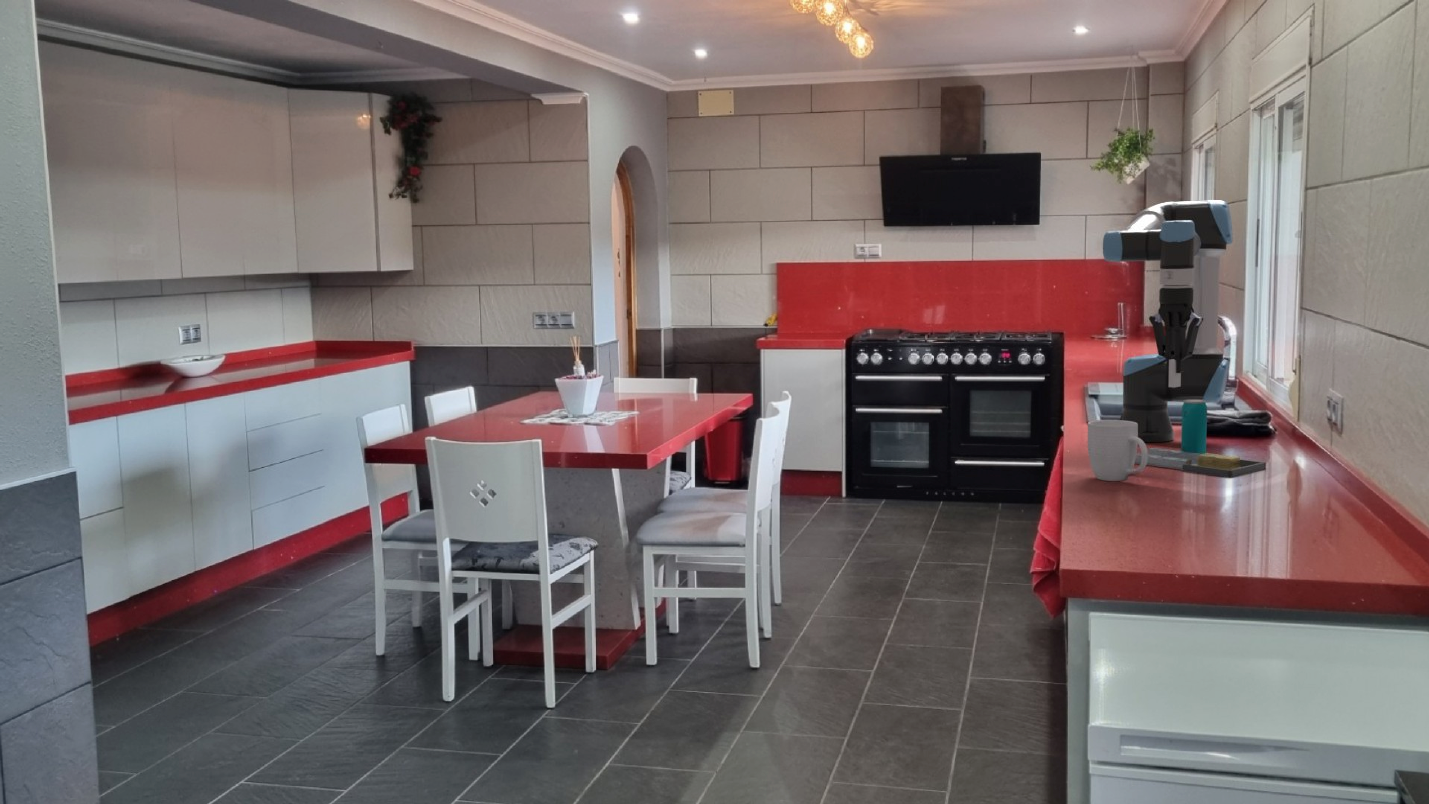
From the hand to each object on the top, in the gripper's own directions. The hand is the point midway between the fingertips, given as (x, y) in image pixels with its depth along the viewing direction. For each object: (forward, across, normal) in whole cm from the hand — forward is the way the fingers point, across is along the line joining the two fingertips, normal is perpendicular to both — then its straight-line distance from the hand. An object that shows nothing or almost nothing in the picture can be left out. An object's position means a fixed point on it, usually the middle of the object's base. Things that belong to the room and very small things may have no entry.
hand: (1174, 386), depth 291 cm
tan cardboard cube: (+19, +14, 0) cm, 24 cm away
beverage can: (+20, -3, +14) cm, 25 cm away
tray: (+20, +13, 0) cm, 24 cm away
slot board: (+20, -1, 0) cm, 20 cm away
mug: (+20, -2, -20) cm, 29 cm away
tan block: (+19, +10, 0) cm, 22 cm away
